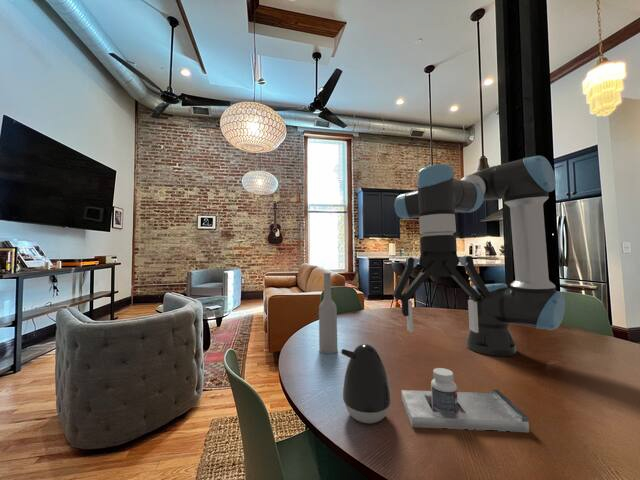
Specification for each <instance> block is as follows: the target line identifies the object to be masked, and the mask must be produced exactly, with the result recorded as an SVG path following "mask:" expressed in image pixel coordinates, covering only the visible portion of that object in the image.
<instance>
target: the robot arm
mask: <svg viewBox="0 0 640 480" xmlns="http://www.w3.org/2000/svg"><path fill="white" fill-rule="evenodd" d="M556 183H557V182H556V176H555V173H554V169H553V167H552V164H551V163H550V161H549V160H548V158H546V157H545V156H543V155H533V156H529V157H524V158H520V159H517V160H512V161H509V162H505V163H502V164H498V165H492V166H489V167H487V168H484V169H482V170H479V171H477V172H474V173H471V174H468V175H465V176H463V177H462V178H461V179H456V178H455V174H454V168H453V167H452V165H450V164H445V163H440V164H439V163H437V164H431V165H428V166H425V167H424V166H423V168H421V169H420V170H419V171H418V173H417V185H416V189H417V190H414V191H410V192H405V193H403V194H402V193H401V194H399V195H398V196H397V197H396V198H395V200H394V204H393V206H394V211H395V214H396V216H398V217H399V218H400V219H402V220H407V219H408V220H412V219H416V218H417V219H418V218H419V222H418V223H419V225H418V226H419V234H420V235H422V236H421V237H419V246H420V250H419V253H420V256H419V257H418V258H416V257H411V256H407V257H406V260H405V267H404V270H403V272H402V273H401V275H400V278H399V280H398V282H397V284H396V285H395V286H396V287H395V289H394V290H393V293H392V296H393V297H394V298H395V299H396V300H399V301H401V302H400V303H401V314H402V315H403V316H404V317H406V329H407V331H408V332H409V333H414V323H413V322H414V319H413V318H414V317H413V302H412V301H411V300H410V299H411V298H412V296H414V294H415V293H416V292H417V291H418V289H419V288H420V287H421V286H422V285H423V283H425V281H426V280H427V279H428V278H429V277H432V278H438V277H443V278H444V277H445V278H448V277H451V278H452V279H453V280H454V281H455V282H456V283H457V284H458V285H459V286H460V287H461V289H463V291H464V292H465V293H466V294H467V295H468V296H469V297H468V298H469V299H468V300H467V307H468V328H469V331H468V333H467V338H466V347H467V349H469V350H471V351H473V352H476V353H479V354H484V355H488V356H495V357H510V356H514V355H516V354H517V346H516V343H515V341H514V338H513V336H512V334H511V331H510V327H509V326H510V325H509V324H512V325H518V326H523V327H530V328H535V329H537V330H540V329H542V330H549V331H552V330H553V331H554V330H557V329H558V328H559V327H560V325H561V324H562V321H563V320H564V316H565V312H566V299H565V295H564V294H563V293H562V292H560V291H557V288H556V287H557V286H556V285H555V283H554V282H552V281H550V278H549V265H548V264H549V263H548V253H547V252H548V250H547V241H546V240H547V239H546V238H547V237H546V227H545V215H544V213H545V212H544V203H545V202H546V201H547V200H548V199H549V198H550V197H549V195H550V194H549V193H551V192H553V191H554V190H555V189H556ZM502 199H503V202H504V203H503V204H505V205H506V206H507V207H508V208H509V212H510V225H511V238H512V251H513V265H514V277H515V278H514V279H515V280H513V281H512V282H511V283H510V288H508V285H507V284H506V283H486V284H485V282H484V280H483V279H482V277H481V276H480V275H481V274H479V272H478V270H477V268H476V267H475V265H474V258H473V257H472V255H464V256H462V257H461V256H460V257H459V256H458V254H457V253H458V252H457V250H458V249H457V248H458V246H457V236H455V235H454V233H456V232H457V227H456V224H457V223H456V213H461V214H465V213H467V214H468V213H474V212H475V211H477V210H478V209H479V208H480V207H481V206H482V204H483V202H484V201H495V200H496V201H497V200H502ZM459 263H460V264H459ZM418 264H419V266H420V267H421V268H422V269H421V270H420V272H419V273H418V275H417V276H416V277H415V279H414V280H413V281H412V282H411V283H410V285H409V286H408V287H407V288H406V285H407V283H408V281H409V279H410V277H411V274H412V272H413V271H414V268H416V267H417V266H418ZM458 265H461V266H462V267H464V270H465V272H466V274H467V275H468V276H469V278H470V280H471V282H472V283H473V285H471V284H470V283H469V282H468V281H467V280H466V279H465V278H464V277H463V275H462V274H461V273H460V272H459V271H458V270H457V269H456V268H457V267H458ZM405 288H406V290H405V291H404V289H405Z"/></svg>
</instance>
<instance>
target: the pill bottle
mask: <svg viewBox="0 0 640 480" xmlns="http://www.w3.org/2000/svg"><path fill="white" fill-rule="evenodd" d="M432 371H433V379H432V380H431V382H430V391H431V395H432V405H431V410H432V411H433V412H453V413H459V412H458V401H457V392H458V386H457V384H456V382H454V372H453V371H452V370H450V369H448V368H442V367H436V368H433V370H432Z"/></svg>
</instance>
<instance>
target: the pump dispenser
mask: <svg viewBox="0 0 640 480" xmlns="http://www.w3.org/2000/svg"><path fill="white" fill-rule="evenodd" d="M340 353H341V354H342V355H343V356H345V357H347V358H350V359H349V360H348V364H347V367H346V371H345V373H344V380H343V388H342V400H343V403H344V404H345V408H346V410H347V412H348V413H349V415H350V416H351V417H352V418H353V419H354V420H355V421H357V422H360V423H361V424H362V423H363V424H376V423H378V422H380V421H381V420H383V419H384V418H385V417H386V415H387V413H388V411H389V407H390V405H391V403H392V402H391V401H392V398H391V389H390V384H389V383H390V382H389V378H388V374H387V371H386V368H385V365H384V363H383V361H382V358H381V355H380V354H379V352H378V351H377V349H376V348H375V347H374V346H373V345H370V344H368V343H362V344H359V345H357V346H356V347H355V349H354V350H353V351H351V350H348V349H345V348H343V349H341V352H340Z"/></svg>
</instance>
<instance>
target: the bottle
mask: <svg viewBox="0 0 640 480" xmlns="http://www.w3.org/2000/svg"><path fill="white" fill-rule="evenodd" d="M331 283H332V282H331V272H324V273H323V290H324V291H323V300H322V301H321V302H320V304H319V306H318V334H319V335H318V339H319V340H318V342H319V344H318V345H319V346H318V347H319V350H318V351H319V353H321V354H325V355H330V354H332V353H333V354H336V353H338V320H337V319H338V318H337V317H338V315H337V309H338V308H337V305H336V303H335V301H333V299H332V288H331Z"/></svg>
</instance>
